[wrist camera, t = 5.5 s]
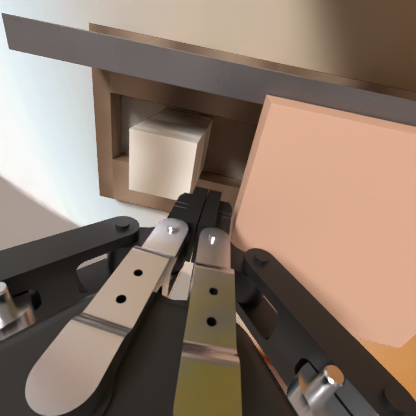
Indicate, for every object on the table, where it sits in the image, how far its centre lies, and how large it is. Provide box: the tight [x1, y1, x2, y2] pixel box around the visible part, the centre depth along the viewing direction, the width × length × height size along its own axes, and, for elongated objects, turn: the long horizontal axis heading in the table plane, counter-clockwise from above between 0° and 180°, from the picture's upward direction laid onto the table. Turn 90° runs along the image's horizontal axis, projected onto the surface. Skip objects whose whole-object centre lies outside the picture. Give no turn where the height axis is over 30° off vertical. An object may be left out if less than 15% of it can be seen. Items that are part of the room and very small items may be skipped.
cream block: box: [129, 109, 213, 200], centre depth 20 cm, size 4×4×8 cm
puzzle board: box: [2, 13, 416, 218], centre depth 19 cm, size 28×15×10 cm, turn 80°
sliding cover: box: [229, 94, 416, 348], centre depth 13 cm, size 12×12×3 cm
